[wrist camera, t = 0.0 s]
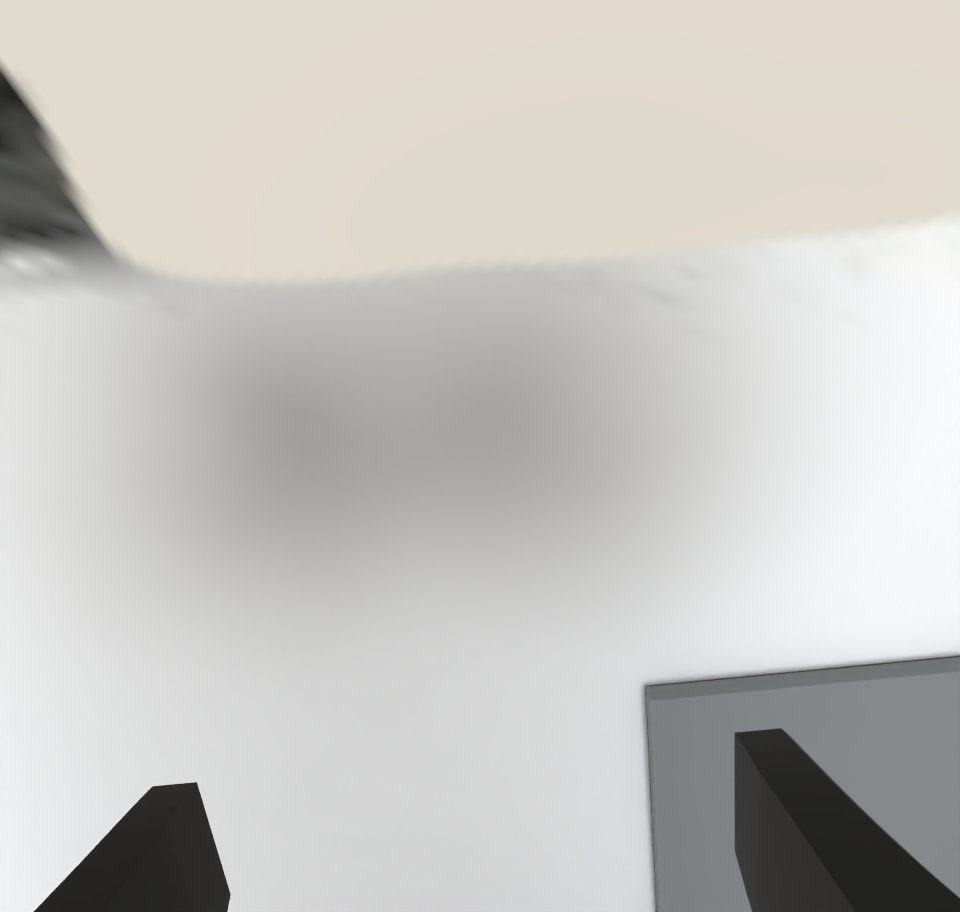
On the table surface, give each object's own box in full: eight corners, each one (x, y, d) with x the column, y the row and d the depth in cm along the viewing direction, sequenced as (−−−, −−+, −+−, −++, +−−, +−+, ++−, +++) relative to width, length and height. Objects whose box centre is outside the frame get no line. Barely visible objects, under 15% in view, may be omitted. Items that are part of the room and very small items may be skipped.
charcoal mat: (968, 1010, 27) (979, 1028, 27) (662, 1034, 28) (666, 1053, 27) (1021, 650, 22) (1035, 664, 22) (645, 686, 23) (649, 700, 22)
